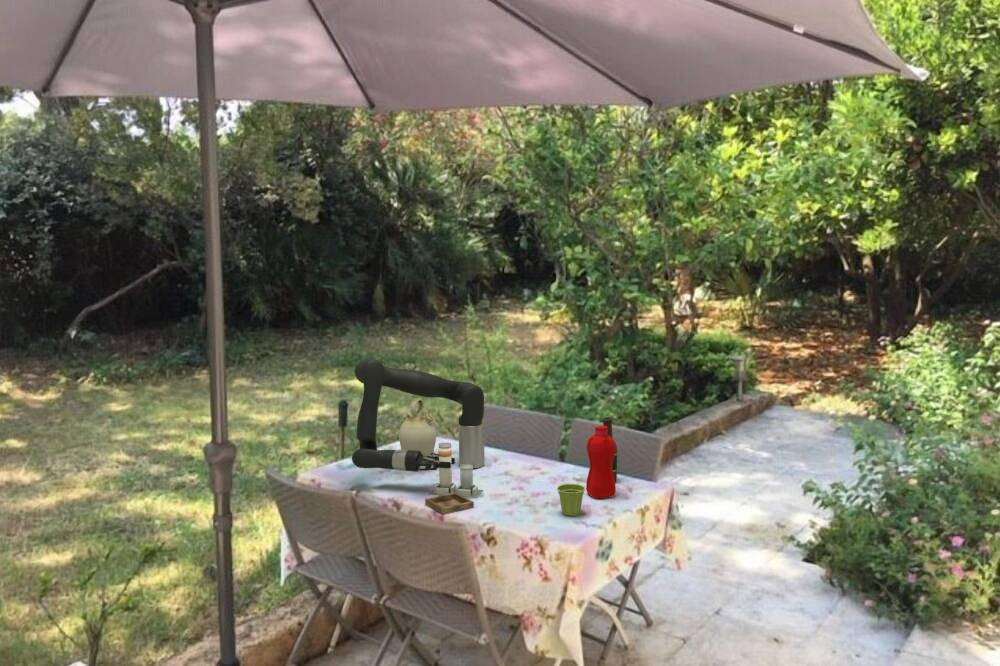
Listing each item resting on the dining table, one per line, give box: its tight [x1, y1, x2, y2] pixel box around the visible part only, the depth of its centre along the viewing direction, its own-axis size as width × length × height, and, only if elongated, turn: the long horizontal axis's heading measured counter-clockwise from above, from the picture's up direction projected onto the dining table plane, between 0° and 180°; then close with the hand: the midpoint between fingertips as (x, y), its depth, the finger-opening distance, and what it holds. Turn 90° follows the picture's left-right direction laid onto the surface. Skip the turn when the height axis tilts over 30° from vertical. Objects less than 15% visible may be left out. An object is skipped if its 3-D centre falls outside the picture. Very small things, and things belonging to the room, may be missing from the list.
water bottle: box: [585, 425, 617, 500], centre depth 287 cm, size 9×11×25 cm
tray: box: [424, 492, 475, 516], centre depth 276 cm, size 12×12×3 cm
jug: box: [398, 396, 437, 456], centre depth 336 cm, size 15×16×25 cm
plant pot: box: [556, 483, 586, 517], centre depth 270 cm, size 9×9×9 cm
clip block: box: [427, 482, 484, 499], centre depth 290 cm, size 18×9×3 cm, turn 76°
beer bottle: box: [602, 416, 618, 483], centre depth 302 cm, size 8×8×24 cm
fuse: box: [459, 464, 474, 494], centre depth 289 cm, size 4×4×10 cm
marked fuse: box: [437, 442, 453, 489], centre depth 290 cm, size 5×5×16 cm
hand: (452, 463), depth 289 cm, fingers closed on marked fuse, 4 cm apart
